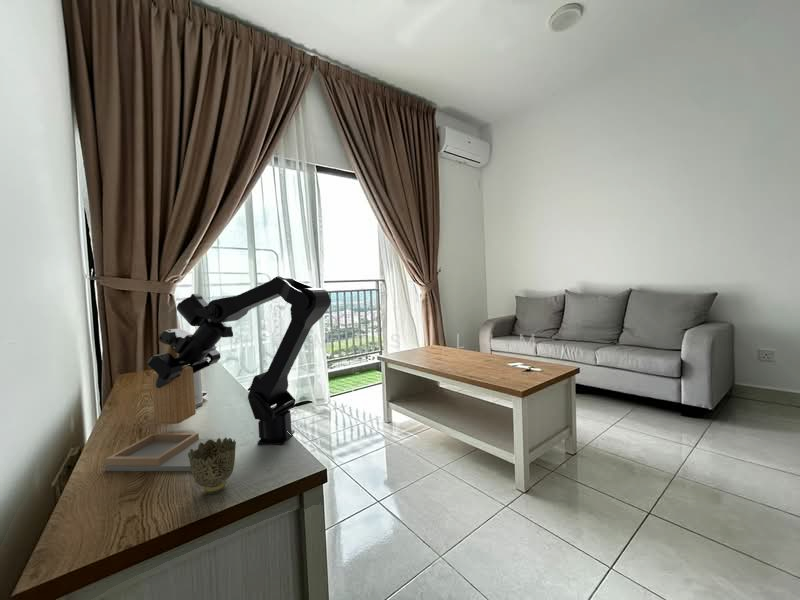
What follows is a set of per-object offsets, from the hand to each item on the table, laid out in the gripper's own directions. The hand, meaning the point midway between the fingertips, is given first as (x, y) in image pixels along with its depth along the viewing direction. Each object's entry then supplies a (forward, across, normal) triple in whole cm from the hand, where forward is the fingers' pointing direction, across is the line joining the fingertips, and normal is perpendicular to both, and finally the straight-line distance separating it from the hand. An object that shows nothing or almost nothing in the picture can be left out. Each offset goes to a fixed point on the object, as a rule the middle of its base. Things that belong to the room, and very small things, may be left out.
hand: (168, 382), depth 84 cm
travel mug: (+16, -19, +3) cm, 25 cm away
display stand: (+2, +12, +17) cm, 21 cm away
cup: (-10, +24, +30) cm, 39 cm away
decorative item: (+6, 0, +8) cm, 10 cm away
